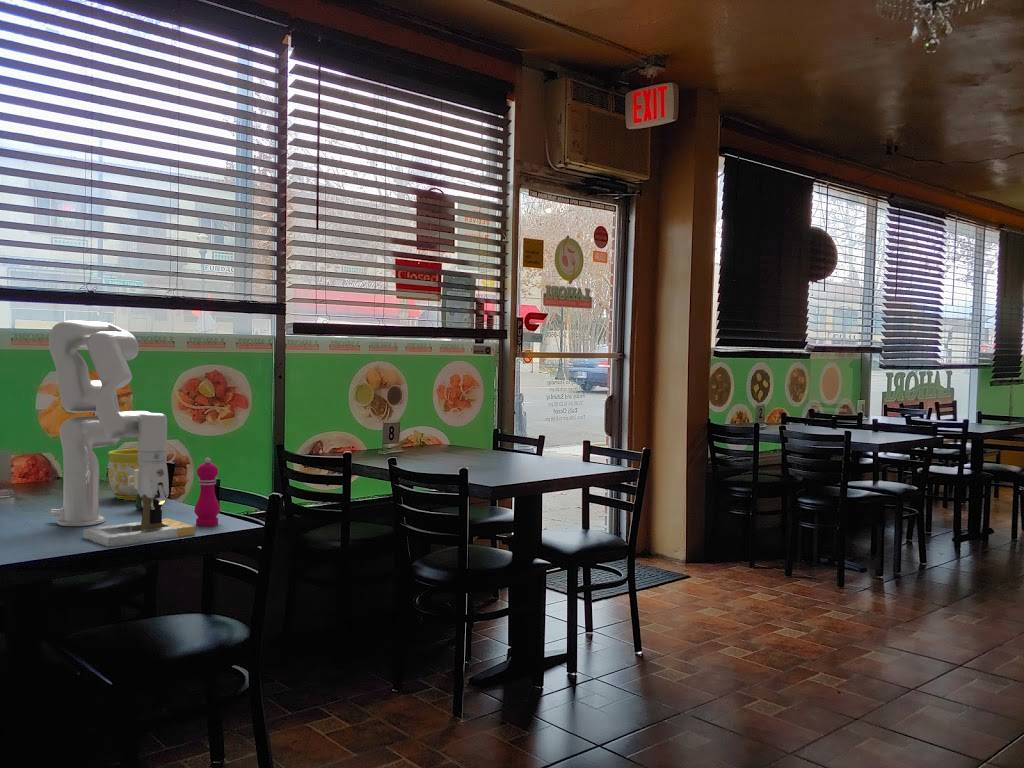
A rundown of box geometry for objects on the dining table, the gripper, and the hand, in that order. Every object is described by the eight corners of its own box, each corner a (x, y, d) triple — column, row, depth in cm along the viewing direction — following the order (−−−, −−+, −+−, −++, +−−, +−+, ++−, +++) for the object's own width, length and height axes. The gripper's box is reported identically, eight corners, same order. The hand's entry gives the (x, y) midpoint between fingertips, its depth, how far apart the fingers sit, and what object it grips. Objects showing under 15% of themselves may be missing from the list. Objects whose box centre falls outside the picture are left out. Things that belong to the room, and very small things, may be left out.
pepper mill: (194, 522, 265) (194, 456, 265) (219, 521, 268) (219, 456, 267) (194, 527, 258) (194, 459, 258) (220, 526, 261) (220, 458, 260)
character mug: (128, 512, 280) (128, 471, 280) (126, 508, 287) (127, 469, 286) (165, 510, 286) (165, 470, 285) (162, 506, 292) (162, 467, 291)
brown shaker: (166, 529, 250) (166, 490, 250) (158, 533, 244) (158, 494, 244) (144, 529, 250) (145, 490, 250) (136, 533, 244) (136, 494, 244)
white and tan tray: (107, 546, 230) (108, 537, 230) (83, 537, 241) (83, 528, 241) (194, 534, 248) (194, 526, 248) (168, 526, 259) (168, 518, 259)
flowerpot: (100, 502, 299) (100, 453, 298) (117, 493, 316) (117, 448, 316) (155, 501, 301) (156, 454, 300) (169, 493, 319) (169, 448, 318)
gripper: (179, 459, 244) (178, 524, 244) (151, 453, 255) (151, 516, 256) (152, 461, 238) (152, 528, 239) (126, 455, 250) (125, 519, 250)
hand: (151, 521), depth 247 cm, fingers closed on brown shaker, 4 cm apart
